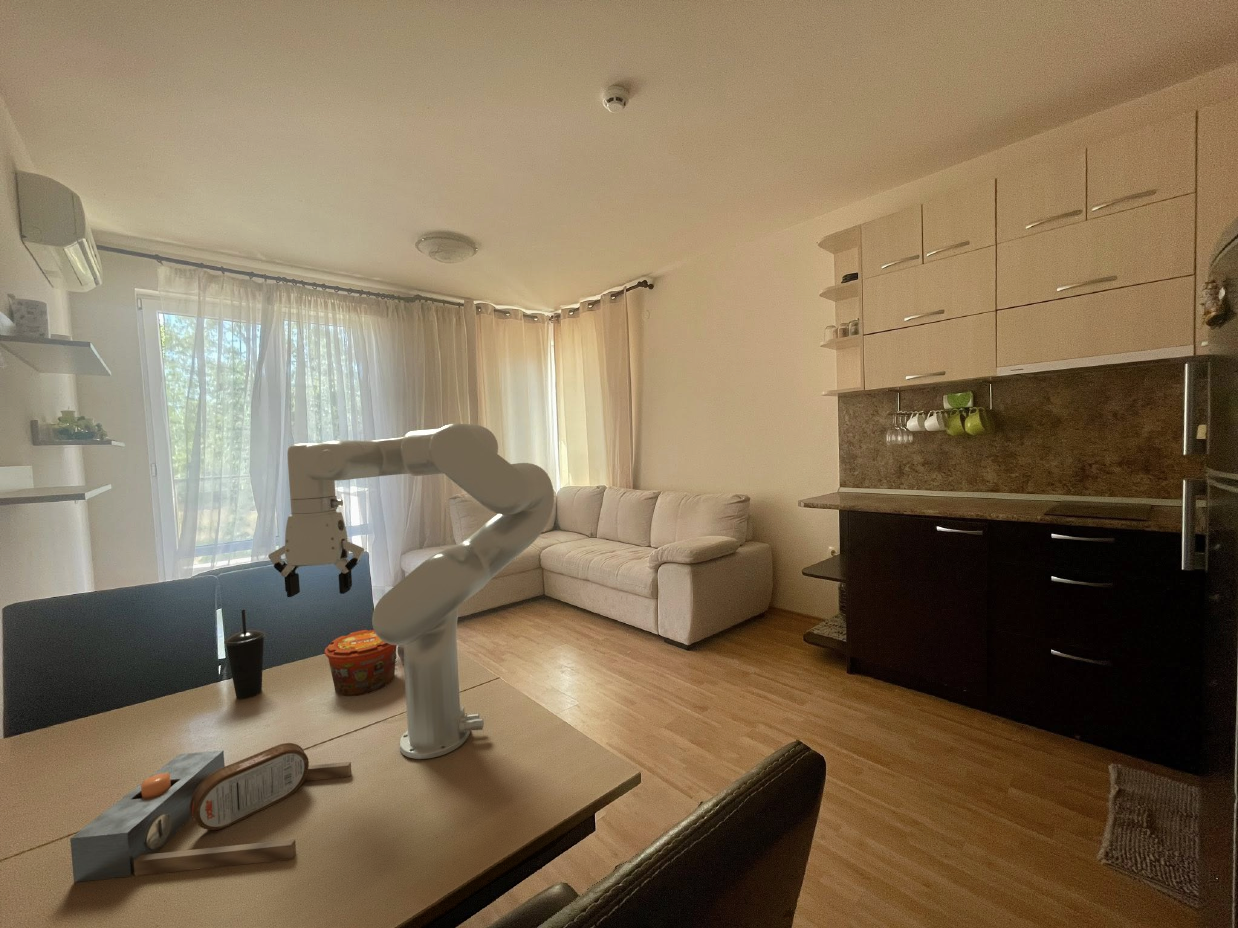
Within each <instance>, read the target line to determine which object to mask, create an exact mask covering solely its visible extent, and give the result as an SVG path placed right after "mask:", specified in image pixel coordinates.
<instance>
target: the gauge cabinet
mask: <svg viewBox="0 0 1238 928" xmlns="http://www.w3.org/2000/svg"><path fill="white" fill-rule="evenodd" d="M224 753H225V751H224V749H222V750H211V751H200V752H189V753H188V752H187V753H179V754H178V755H176V756H175V757H173V758H172V759H171V760H170V761H168V762H167V763H166V764H164V766H162V767H161V768H160V769H158V770H157V771H156V772H154V773H153V774H152V775H150V776H149V777H148V778H150V777H152V776H154V775H157V774H161V773H169V774H170V782H171V788H169V789H168V790H167V791H166V792H165V793H163V794H162V795H161V796H160V797H152V798H142V793H141V784H142V782H141V783H140V784H139V785H137V786H136V787H135V788H133V789H132V790H131V791H129V792H128V793H127V794H126V795H124V796H123V797H122V798H121V799H119V800H118V801H116V802H115V803H114V804H113V805H111V806H110V807H109V808H108V809H107V810H105V811H104V812H102V813H101V814H100V815H98V816H97V817H96V818H95V819H92V821H91V822H90V823H88V824H87V825H86V826H84V827H83V828H82V829H79V831H78V832H77V833H75V834H74V835H72V836H71V837H70V840H69V843H70V850H71V851H70V852H71V862H72V863H71V864H72V877H73V883H80V882H90V881H91V882H92V881H100V880H106V879H108V880H109V879H119V878H125V877H132V876H133V875H135V871H134V861H135V860H136V859H137V858H138V857H139V856H140V855H147V854H157V853H158V850H160V849H162V847H163V846H164V845H165V844H166V843H168V841H169V840H170V839H171V838H172V837H173V836H174V835H176V834H177V833H178V832H179V831H180V829H181V828H183V827H184V826H185V825H186V824H187V823H188V822H189V821H190V820H191V819H192V818H193V817H192V815H191V813H190V802H191V799H192V796H193V794H194V792H195V791H196V789H197V788H198V786H199V785H200V784H201V783H202V782H203V781H204V780H205V779H206V778H207V777H208V776H209V775H211V774H212V773H214V772H215V771H217V770H219V769H221V768H223V767H225V766H226V765H225V754H224ZM156 852H157V853H156Z"/></svg>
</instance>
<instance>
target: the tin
mask: <svg viewBox="0 0 1238 928" xmlns="http://www.w3.org/2000/svg"><path fill="white" fill-rule="evenodd" d="M304 750H305V749H304V748H303V747H301V746H300V745H298V744H297V743H294V742H293V743H292V742H284V743H280V744H276V745H274V746H272V747H270V748H267V749H265V750H263V751H260V752H257V753H256V754H252V755H250V756H248V757H245V758H242V759H241V760H238V761H235V762H233V763H231V764H230V763H229V764H228V765H225V767H223V768H221V769H219V770H217V771H215V772H214V773H212V774H211V775H209V776H208V777H207V778H206V779H205V780H204V781H203V782H202V783H201V784H200V785H199V786H198V788H197V789H196V791H195V792H194V794H193V796H192V799H191V802H190V813H191V815H192V818H193V819H194V822H195V823H196V825H197V826H199V827H200V828H202V829H205V830H207V831H216V830H217V831H218V830H221V829H225V828H227V827H230V826H233V825H234V824H236V823H238V822H240V821H243V820H244V819H247V818H248V817H251V816H252V815H254V814H256V813H258V812H260V811H262V810H265V809H266V808H269V807H271V806H273V805H275V804H277V803H280V802H282V801H283V800H285V799H287V798H288V797H290V796H291V795H293V793H295V792H296V791H297V790H298V789H299V787H301V785H302V784H303V783H304V782H305V781H304V779H305V777H306V775H307V772H308V767H309V766H310V765H309V764H310V763H309V758H308V755H307V754H306V752H305V751H304Z"/></svg>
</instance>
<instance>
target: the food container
mask: <svg viewBox="0 0 1238 928" xmlns="http://www.w3.org/2000/svg"><path fill="white" fill-rule="evenodd" d="M397 647H398V645H391V644H388V643H386V642H384V641H382V640H381V639H380V638H379V637H378V636H377V635H376V633H375V631H374V629H372V630H371V629H370V630H368V629H363V630H362V629H361V630H358V631H354V632H350V633H349V634H347V635H342V636H339V637H337V638H335V639H333V640H331V643H330V644H329V645H328V646H327V647H326V648H325V649H324V655H325V656H326V657H327V658H328V663H329V668H330V672H331V678H332V682H333V685H334V691H335V692H336V694H338V695H341V696H344V697H353V696H362V695H366V694H371V693H374V692H377V691H378V690H381V689H382V688H384V687H386V686H388V685H390V684H391V682H392V681H393V680H394V679H395V672H396V661H397V660H396V659H397Z"/></svg>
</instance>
